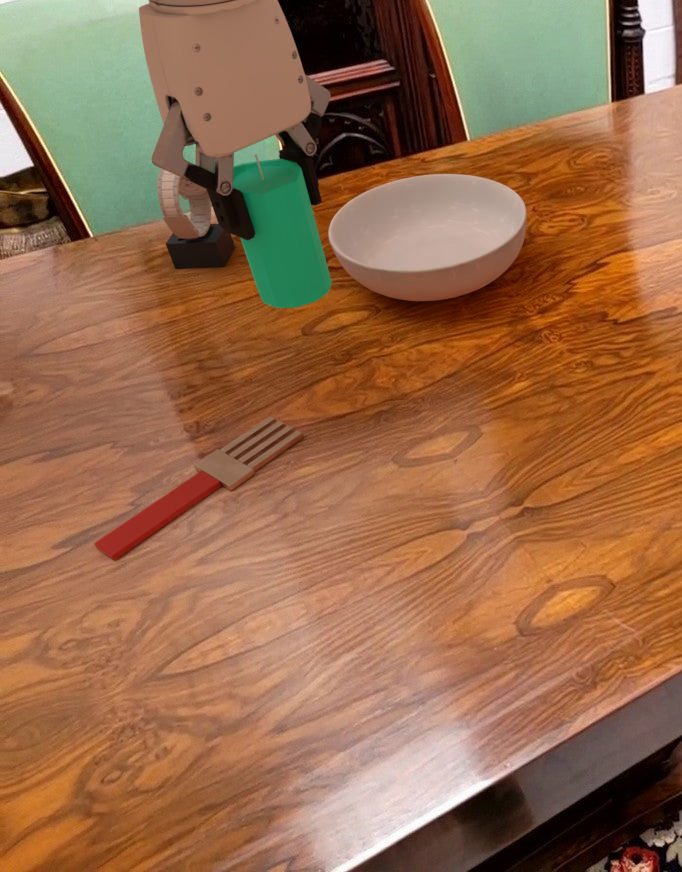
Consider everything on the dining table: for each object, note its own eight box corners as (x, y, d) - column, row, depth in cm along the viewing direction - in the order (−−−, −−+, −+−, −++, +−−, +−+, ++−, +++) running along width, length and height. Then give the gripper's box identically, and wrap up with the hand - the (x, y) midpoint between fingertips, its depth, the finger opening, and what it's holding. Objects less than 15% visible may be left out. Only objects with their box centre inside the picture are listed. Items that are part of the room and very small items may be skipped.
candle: (245, 303, 78) (198, 168, 70) (282, 266, 82) (242, 135, 74) (310, 312, 77) (270, 175, 69) (344, 274, 81) (310, 142, 73)
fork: (123, 567, 72) (120, 562, 72) (87, 542, 74) (84, 537, 74) (305, 438, 83) (304, 433, 83) (270, 419, 85) (268, 414, 85)
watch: (239, 239, 110) (210, 150, 103) (219, 275, 104) (187, 183, 97) (191, 240, 110) (159, 151, 103) (169, 276, 104) (132, 185, 97)
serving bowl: (322, 254, 107) (307, 199, 103) (493, 212, 114) (487, 159, 110) (370, 348, 93) (355, 289, 89) (562, 293, 100) (557, 236, 96)
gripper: (268, -61, 70) (324, 166, 82) (49, 0, 59) (151, 250, 71) (337, -47, 67) (385, 187, 79) (119, 20, 56) (213, 278, 68)
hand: (273, 215), depth 75 cm, fingers closed on candle, 6 cm apart
